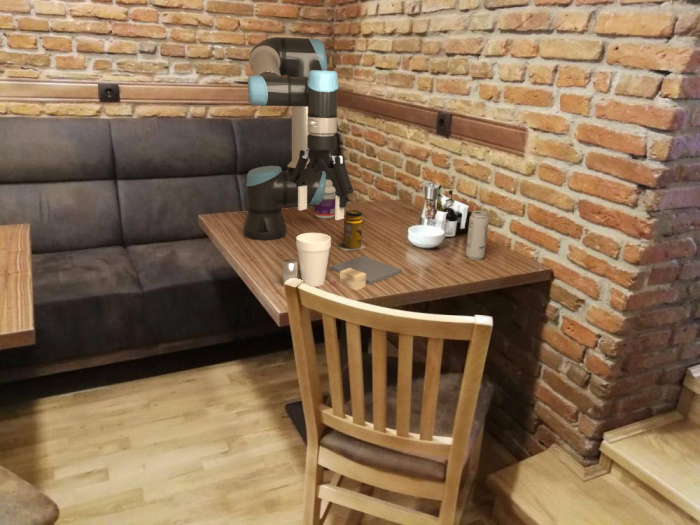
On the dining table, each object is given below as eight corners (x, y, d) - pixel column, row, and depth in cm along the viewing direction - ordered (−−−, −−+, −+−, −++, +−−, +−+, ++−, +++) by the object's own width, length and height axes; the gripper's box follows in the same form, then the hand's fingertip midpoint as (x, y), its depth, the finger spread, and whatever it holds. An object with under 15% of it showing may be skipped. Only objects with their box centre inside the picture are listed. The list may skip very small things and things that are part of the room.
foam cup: (312, 291, 149) (312, 245, 145) (289, 281, 155) (289, 237, 150) (336, 282, 156) (338, 238, 151) (313, 273, 162) (314, 230, 157)
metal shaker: (279, 285, 152) (279, 261, 150) (291, 281, 155) (290, 258, 152) (289, 289, 150) (289, 265, 147) (300, 286, 152) (300, 262, 150)
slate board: (330, 269, 165) (330, 266, 165) (361, 258, 175) (362, 255, 175) (370, 284, 155) (370, 281, 155) (401, 272, 165) (401, 269, 164)
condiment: (366, 247, 185) (368, 213, 181) (345, 251, 181) (346, 216, 177) (354, 241, 191) (355, 207, 187) (333, 245, 187) (334, 210, 183)
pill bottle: (314, 214, 223) (314, 178, 218) (334, 214, 224) (335, 178, 219) (315, 219, 215) (315, 182, 210) (335, 219, 216) (336, 183, 211)
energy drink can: (482, 261, 176) (488, 216, 171) (463, 259, 178) (468, 213, 173) (485, 256, 182) (490, 211, 177) (466, 253, 184) (471, 209, 178)
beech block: (339, 284, 155) (340, 271, 153) (349, 280, 158) (349, 267, 156) (355, 290, 151) (356, 277, 150) (365, 287, 154) (366, 273, 152)
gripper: (277, 129, 147) (278, 207, 154) (349, 140, 132) (346, 226, 139) (297, 128, 153) (297, 203, 160) (369, 138, 138) (365, 220, 145)
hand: (320, 214), depth 150 cm, fingers open, 13 cm apart
